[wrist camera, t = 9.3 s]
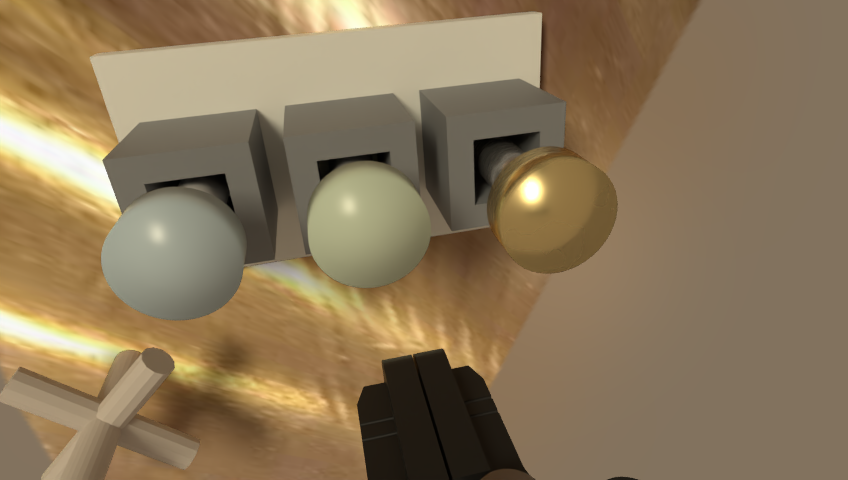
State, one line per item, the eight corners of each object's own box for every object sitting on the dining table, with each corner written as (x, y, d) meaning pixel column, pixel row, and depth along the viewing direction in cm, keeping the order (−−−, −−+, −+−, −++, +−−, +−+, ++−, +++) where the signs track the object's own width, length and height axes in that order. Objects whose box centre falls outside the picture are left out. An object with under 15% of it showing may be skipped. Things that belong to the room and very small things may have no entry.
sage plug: (296, 124, 26) (297, 186, 19) (390, 113, 26) (427, 168, 19) (312, 211, 28) (318, 297, 21) (399, 198, 29) (434, 277, 21)
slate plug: (142, 143, 25) (80, 217, 17) (245, 131, 25) (226, 196, 18) (171, 232, 27) (126, 330, 20) (265, 218, 28) (255, 308, 20)
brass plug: (443, 113, 26) (502, 170, 19) (533, 102, 27) (623, 153, 19) (448, 200, 28) (501, 282, 21) (531, 188, 29) (611, 263, 21)
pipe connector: (248, 343, 35) (232, 470, 26) (161, 442, 37) (120, 590, 28) (93, 263, 30) (12, 384, 21) (5, 382, 32) (-103, 536, 23)
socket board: (97, 53, 26) (36, 80, 19) (533, 11, 29) (596, 23, 23) (170, 268, 31) (140, 342, 25) (527, 212, 35) (578, 265, 29)
